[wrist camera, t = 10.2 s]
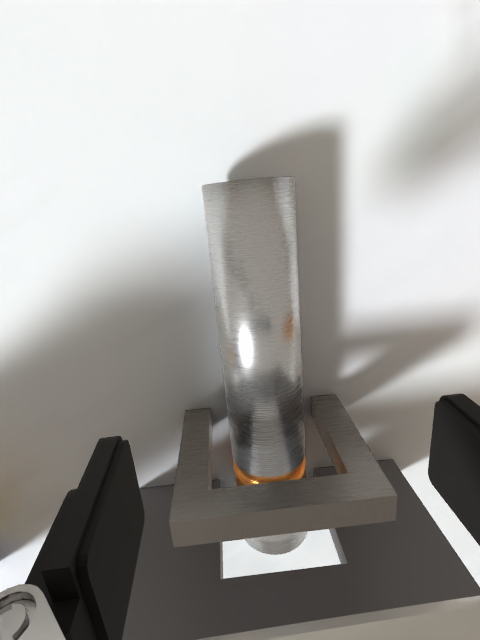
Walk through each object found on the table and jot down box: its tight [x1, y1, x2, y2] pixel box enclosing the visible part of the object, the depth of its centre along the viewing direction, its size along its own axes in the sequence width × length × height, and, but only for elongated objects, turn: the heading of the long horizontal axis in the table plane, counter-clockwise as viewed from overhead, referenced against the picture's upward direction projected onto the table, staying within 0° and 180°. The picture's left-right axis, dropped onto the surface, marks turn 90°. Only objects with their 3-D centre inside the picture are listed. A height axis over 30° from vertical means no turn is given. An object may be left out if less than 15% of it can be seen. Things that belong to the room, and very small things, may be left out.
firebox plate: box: [122, 459, 480, 640], centre depth 24 cm, size 2×20×12 cm, turn 95°
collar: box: [169, 394, 397, 548], centre depth 23 cm, size 2×11×10 cm, turn 95°
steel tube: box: [202, 177, 307, 555], centre depth 24 cm, size 24×5×5 cm, turn 5°
